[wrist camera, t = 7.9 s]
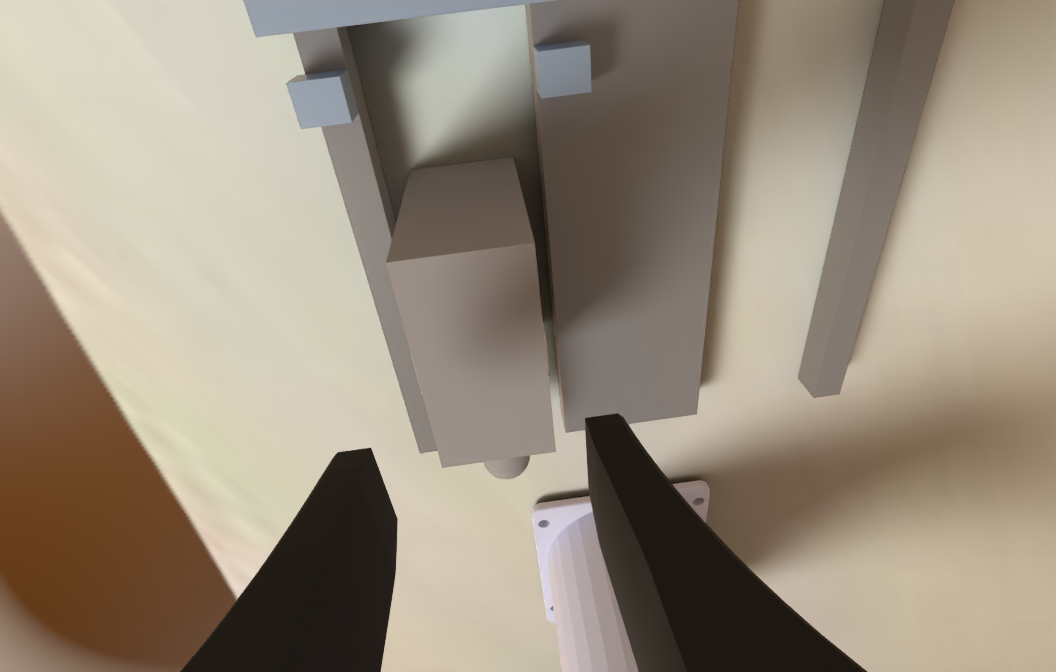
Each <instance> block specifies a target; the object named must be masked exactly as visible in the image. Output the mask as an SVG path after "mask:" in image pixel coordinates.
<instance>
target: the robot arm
mask: <svg viewBox="0 0 1056 672" xmlns="http://www.w3.org/2000/svg"><path fill="white" fill-rule="evenodd" d="M585 430H586V448H587V466H588V484H589V495H590V496H585V497H578V498H571V499H564V500H557V501H550V502H543V503H539V504H536V505H535V506H533V508H532V509H531V515H532V523H533V529H534V536H535V542H536V549H537V556H538V562H539V569H540V576H541V582H542V589H543V595H544V602H545V609H546V615H547V620H548V621H549V622H551V623H555V624H556V632H557V639H558V646H559V654H560V661H561V668H562V672H867V671H866V670H865V669H863V668H862V667H861V666H860V665H858V664H857V663H856V662H855V661H853V660H852V659H851V658H850V657H849V656H847V655H846V654H845V653H844V652H842V651H841V650H840V649H839V648H837V647H836V646H835V645H834V644H833V643H831V642H830V641H829V640H828V639H826V638H825V637H824V636H823V635H821V634H820V633H819V632H818V631H817V630H816V629H814V628H813V627H812V626H811V625H810V624H809V623H808V622H807V621H805V620H804V619H803V618H802V617H801V616H800V615H799V614H798V613H796V612H795V611H794V610H793V609H792V608H791V607H790V606H789V605H787V604H786V603H785V602H784V601H783V600H782V599H781V598H780V597H779V596H778V595H777V594H776V593H774V592H773V591H772V590H771V589H770V588H769V587H768V586H767V585H766V584H765V583H764V582H763V581H762V580H761V579H760V578H758V577H757V576H756V575H755V574H754V573H753V572H752V571H751V570H750V569H749V568H748V567H747V566H746V565H745V564H744V563H743V562H742V561H741V560H740V559H739V558H738V557H737V556H736V555H735V554H734V553H733V552H732V551H731V550H730V549H729V547H728V546H727V545H726V544H725V543H724V542H723V541H722V540H721V539H720V538H719V537H718V536H717V535H716V534H715V533H714V532H713V530H712V529H711V528H710V527H709V526H708V525H707V524H706V519H707V512H708V505H709V497H710V489H709V486H708V484H707V483H706V482H705V481H701V480H697V481H690V482H683V483H676V484H672V483H671V482H670V481H669V480H668V478H667V477H666V476H665V475H664V473H663V472H662V471H661V470H660V468H659V467H658V466H657V464H656V463H655V462H654V460H653V459H652V458H651V456H650V455H649V454H648V453H647V451H646V450H645V448H644V447H643V446H642V444H641V443H640V441H639V440H638V439H637V437H636V436H635V434H634V433H633V431H632V430H631V428H630V427H629V425H628V424H627V422H626V420H625V419H624V417H623V416H621V415H620V414H618V413H616V414H609V415H602V416H595V417H587V418H585ZM396 551H397V517H396V514H395V511H394V509H393V506H392V503H391V501H390V498H389V495H388V492H387V490H386V487H385V484H384V482H383V479H382V476H381V474H380V471H379V468H378V466H377V463H376V460H375V457H374V455H373V452H372V449H371V448H366V449H359V450H352V451H345V452H338V453H337V454H336V455H335V456H334V457H333V459H332V460H331V462H330V464H329V465H328V467H327V468H326V470H325V471H324V473H323V475H322V476H321V478H320V479H319V481H318V483H317V484H316V486H315V487H314V489H313V490H312V492H311V494H310V495H309V497H308V498H307V500H306V501H305V503H304V505H303V506H302V508H301V509H300V511H299V512H298V514H297V515H296V517H295V518H294V520H293V521H292V523H291V524H290V526H289V527H288V529H287V530H286V532H285V533H284V535H283V536H282V538H281V539H280V541H279V542H278V544H277V545H276V547H275V548H274V549H273V551H272V552H271V554H270V555H269V557H268V558H267V560H266V561H265V563H264V564H263V565H262V567H261V568H260V570H259V571H258V573H257V574H256V575H255V577H254V578H253V579H252V581H251V582H250V583H249V585H248V586H247V587H246V589H245V590H244V591H243V593H242V594H241V595H240V597H239V598H238V599H237V601H236V602H235V604H234V605H233V606H232V608H231V609H230V610H229V612H228V613H227V614H226V616H225V617H224V618H223V620H222V621H221V622H220V623H219V625H218V626H217V627H216V629H215V630H214V631H213V632H212V634H211V635H210V636H209V637H208V639H207V640H206V641H205V642H204V644H203V645H202V646H201V647H200V648H199V650H198V651H197V652H196V654H195V655H194V656H193V657H192V658H191V659H190V661H189V662H188V663H187V664H186V665H185V667H184V668H183V669H182V670H181V671H180V672H381V665H382V659H383V652H384V646H385V640H386V633H387V627H388V620H389V614H390V607H391V601H392V594H393V587H394V580H395V572H396Z"/></svg>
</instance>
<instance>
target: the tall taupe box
mask: <svg viewBox="0 0 1056 672" xmlns="http://www.w3.org/2000/svg"><path fill="white" fill-rule="evenodd" d="M386 265H387V268H388V272H389V276H390V279H391V283H392V287H393V290H394V294H395V298H396V301H397V305H398V308H399V312H400V316H401V319H402V323H403V327H404V330H405V334H406V338H407V341H408V345H409V348H410V352H411V356H412V360H413V364H414V367H415V371H416V374H417V378H418V382H419V385H420V389H421V393H422V396H423V399H424V403H425V407H426V410H427V414H428V418H429V421H430V425H431V428H432V432H433V436H434V439H435V443H436V447H437V450H438V454H439V458H440V461H441V465H442V468H444V467H451V466H458V465H465V464H472V463H479V462H483V463H484V465H485V467H486V469H487V470H488V471H489V473H490V474H492V475H493V476H495V477H497V478H500V479H512V478H515V477H517V476H519V475H520V474H521V473H523V471H524V470H525V469H526V467H527V465H528V462H529V459H530V455H536V454H543V453H550V452H556V448H555V438H554V428H553V418H552V408H551V398H550V388H549V379H548V376H550V373H549V363H548V353H547V343H546V334H545V329H544V325H543V319H542V310H541V300H540V290H539V280H538V270H537V260H536V250H535V242H534V238H533V234H532V230H531V226H530V222H529V218H528V214H527V210H526V206H525V202H524V198H523V194H522V190H521V186H520V182H519V178H518V174H517V170H516V166H515V162H514V158H513V156H512V157H504V158H496V159H489V160H481V161H473V162H466V163H458V164H450V165H442V166H435V167H427V168H419V169H412V170H410V172H409V176H408V180H407V184H406V188H405V191H404V195H403V199H402V203H401V207H400V211H399V214H398V218H397V222H396V226H395V230H394V234H393V237H392V241H391V245H390V249H389V253H388V257H387V260H386Z"/></svg>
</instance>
